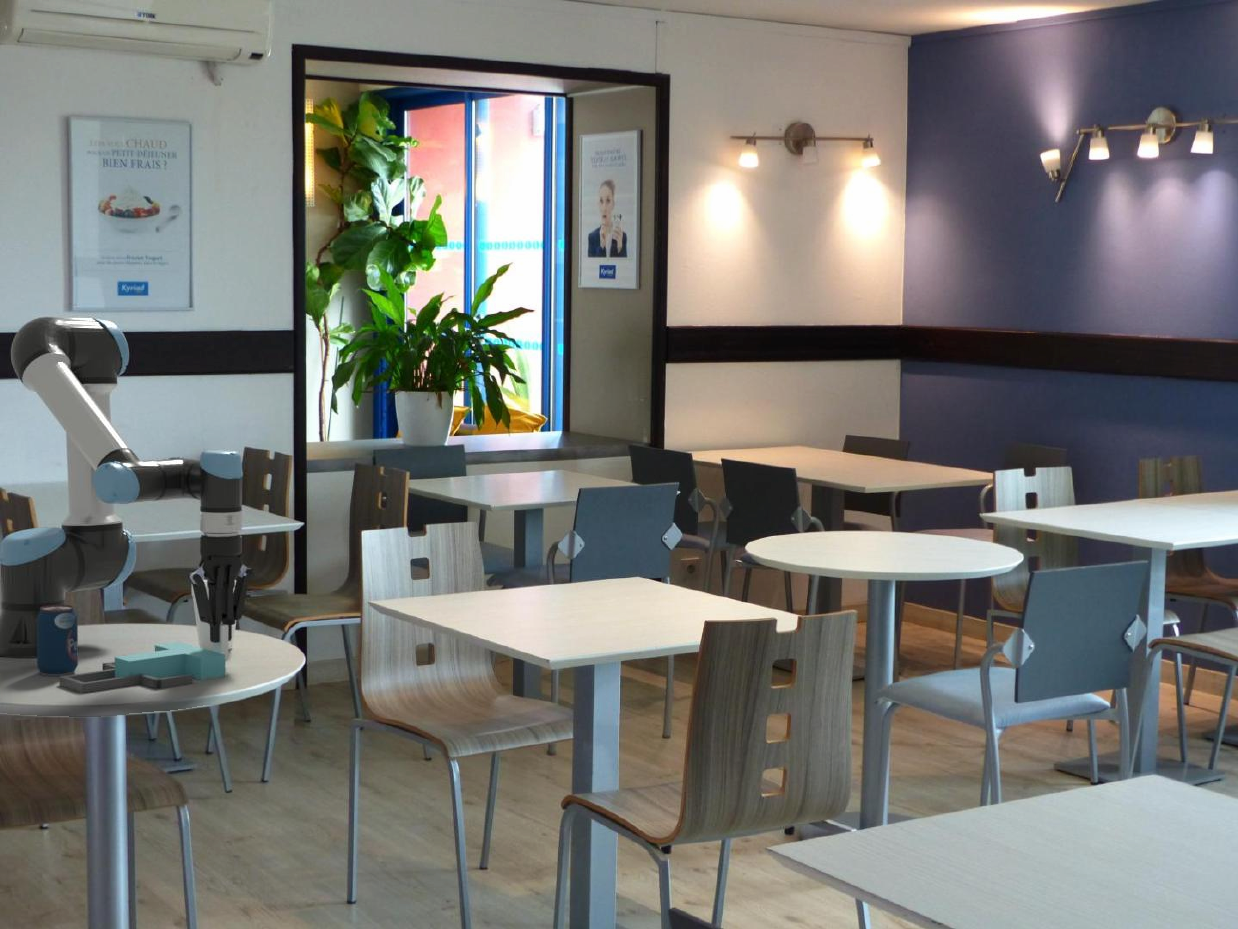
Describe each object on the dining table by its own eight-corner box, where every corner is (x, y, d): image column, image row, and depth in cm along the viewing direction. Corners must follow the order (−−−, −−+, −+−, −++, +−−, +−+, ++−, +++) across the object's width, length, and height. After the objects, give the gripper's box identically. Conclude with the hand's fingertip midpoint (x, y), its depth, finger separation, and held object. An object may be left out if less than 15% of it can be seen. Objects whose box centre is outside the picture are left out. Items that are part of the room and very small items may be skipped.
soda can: (79, 675, 278) (78, 609, 277) (38, 677, 275) (37, 611, 274) (76, 667, 284) (76, 603, 283) (36, 670, 282) (35, 605, 281)
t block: (178, 662, 291) (178, 641, 291) (225, 676, 280) (225, 654, 280) (99, 674, 279) (99, 652, 279) (144, 689, 268) (144, 666, 268)
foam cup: (247, 644, 310) (247, 580, 309) (231, 653, 301) (231, 587, 300) (201, 642, 311) (201, 578, 310) (184, 651, 302) (184, 585, 301)
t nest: (138, 666, 287) (138, 658, 286) (193, 683, 273) (193, 674, 273) (44, 680, 273) (44, 671, 273) (97, 698, 260) (97, 689, 260)
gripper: (201, 538, 279) (200, 666, 281) (262, 533, 289) (261, 657, 290) (179, 534, 284) (179, 660, 286) (240, 529, 294) (239, 651, 296)
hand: (220, 658), depth 288 cm, fingers closed
